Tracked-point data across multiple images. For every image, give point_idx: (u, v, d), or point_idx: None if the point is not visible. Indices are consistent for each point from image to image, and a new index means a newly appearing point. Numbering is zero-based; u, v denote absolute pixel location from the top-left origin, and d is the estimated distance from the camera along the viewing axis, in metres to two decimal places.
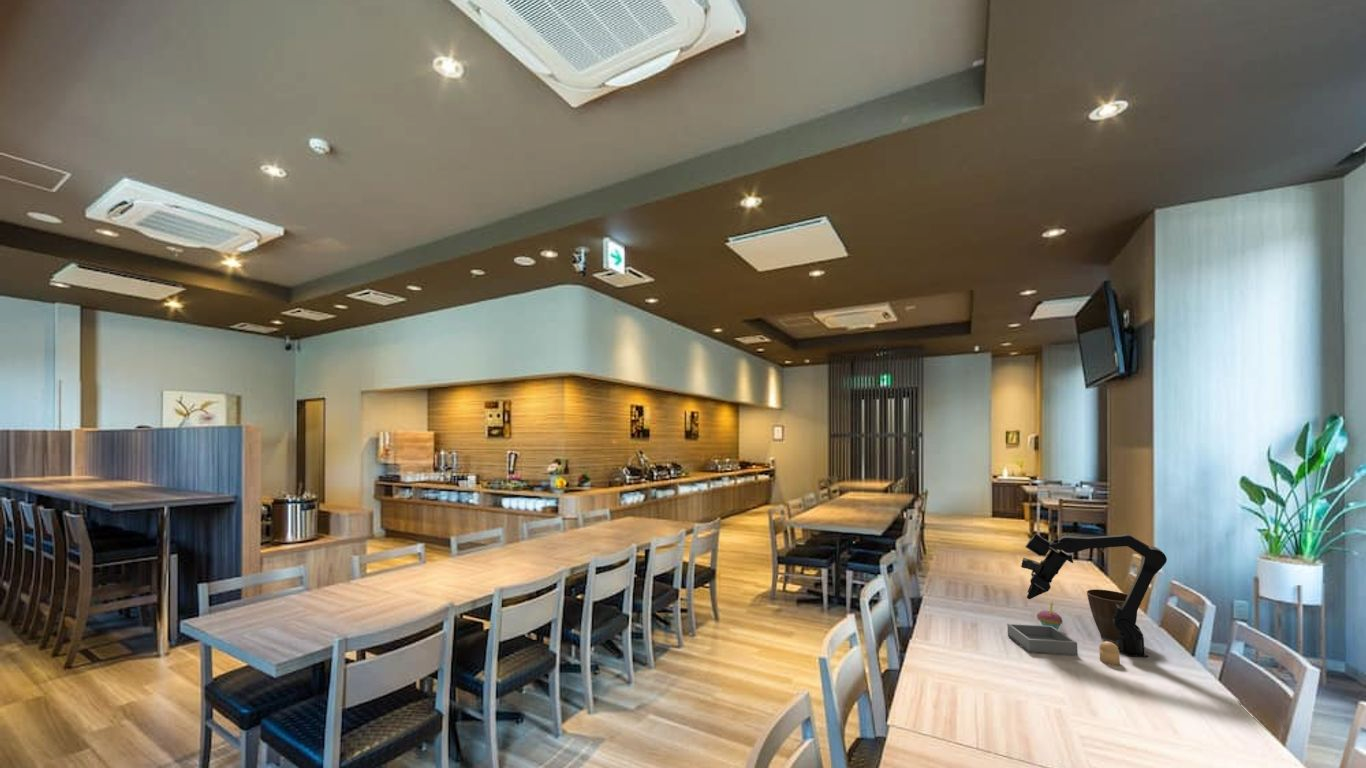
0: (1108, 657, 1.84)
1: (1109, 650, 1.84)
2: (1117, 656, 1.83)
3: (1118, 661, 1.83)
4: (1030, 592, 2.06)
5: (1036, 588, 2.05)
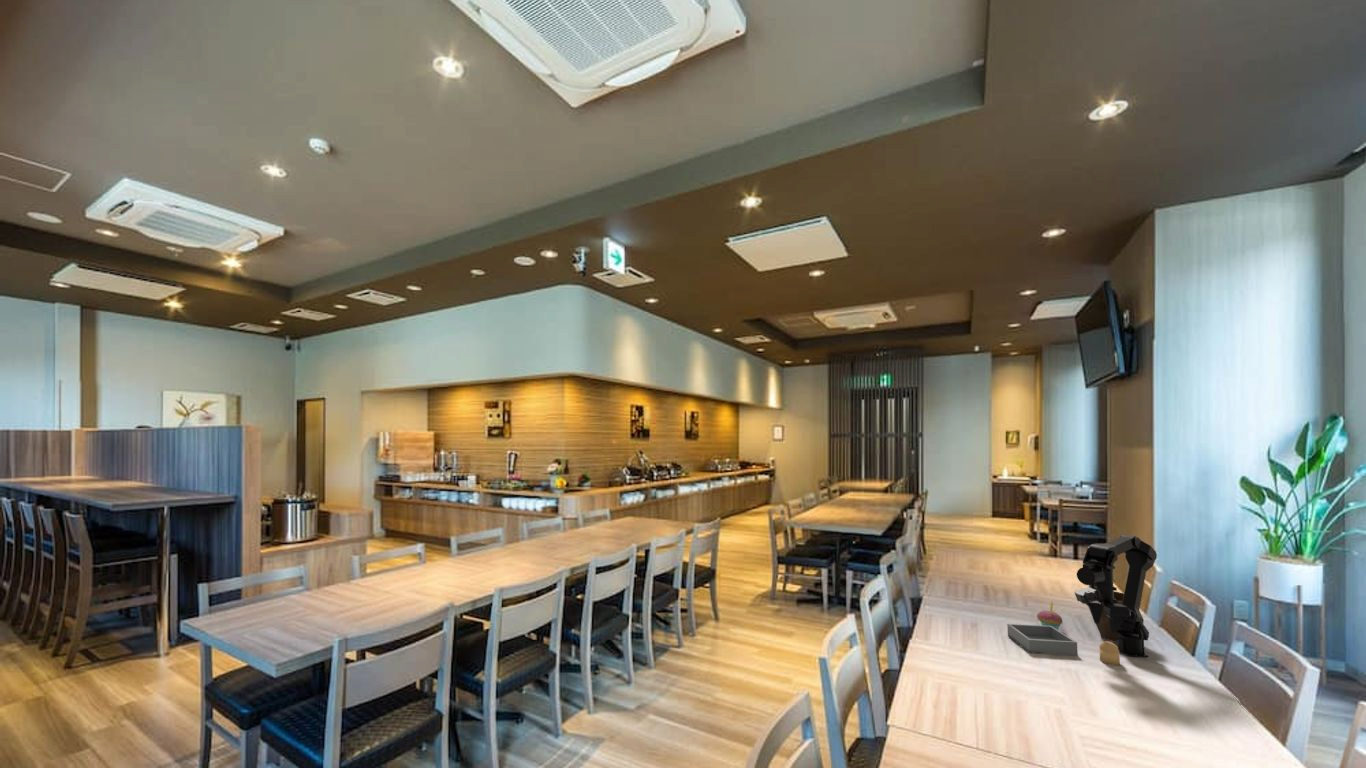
0: (1108, 657, 1.84)
1: (1109, 650, 1.84)
2: (1117, 656, 1.83)
3: (1118, 661, 1.83)
4: (1112, 625, 1.82)
5: (1115, 618, 1.82)
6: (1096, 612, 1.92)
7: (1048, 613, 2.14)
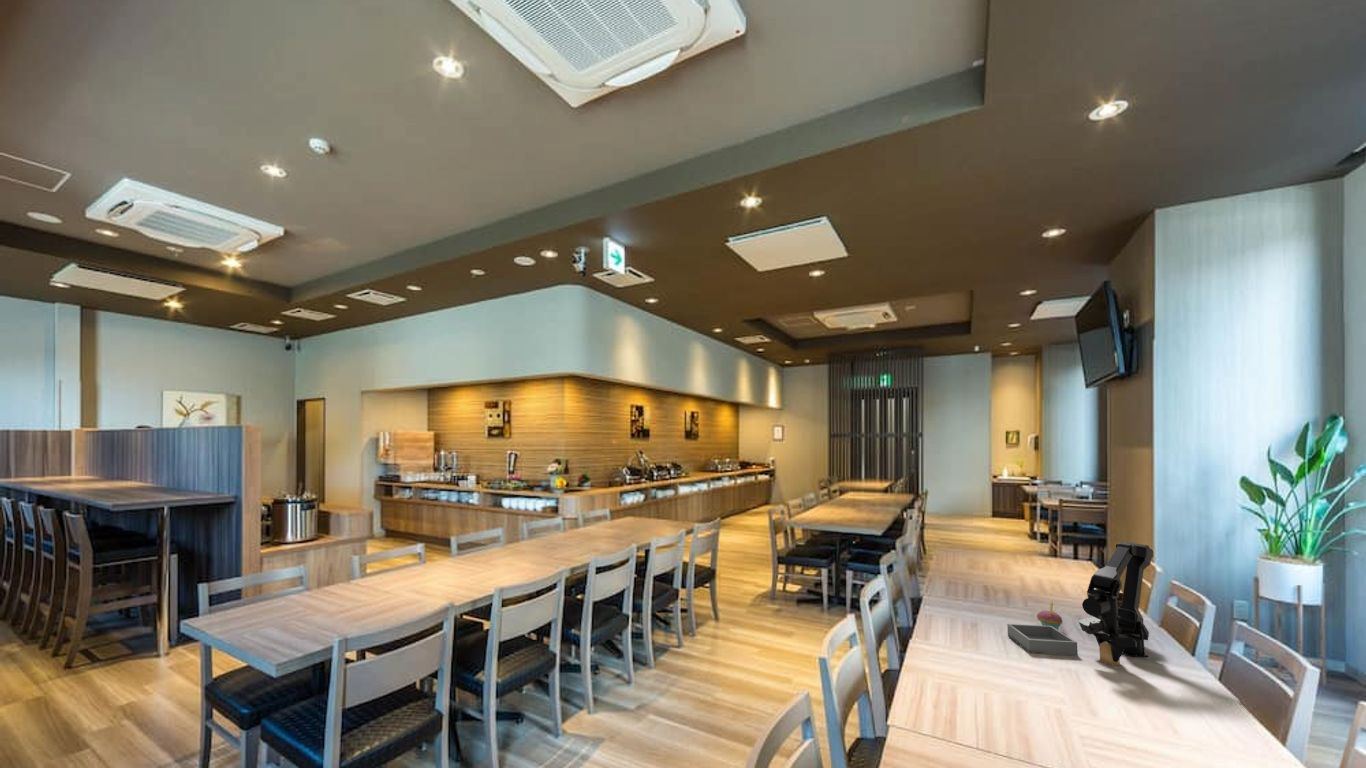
0: (1108, 657, 1.84)
1: (1109, 650, 1.84)
2: None
3: (1118, 661, 1.83)
4: (1115, 654, 1.82)
5: (1117, 646, 1.82)
6: None
7: (1048, 613, 2.14)
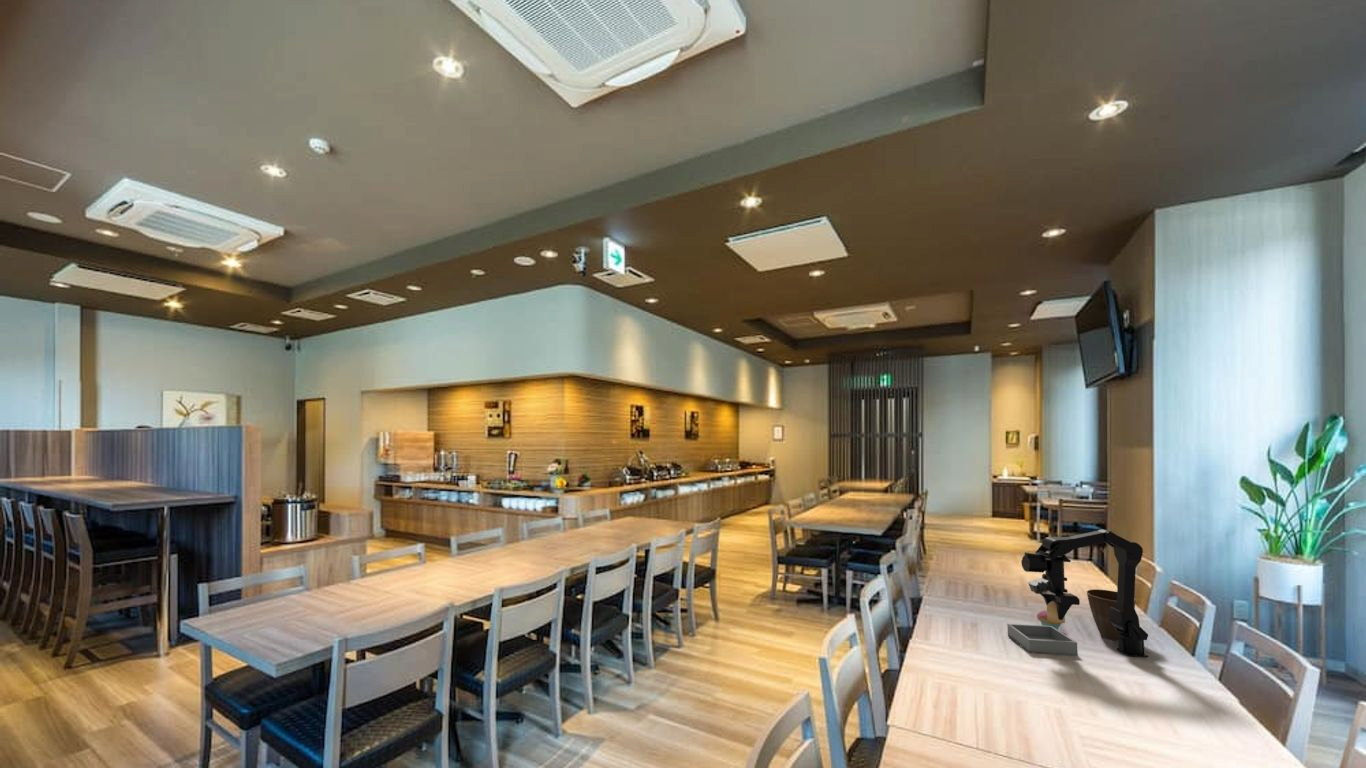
0: (1054, 615, 1.95)
1: (1055, 609, 1.95)
2: None
3: (1063, 619, 1.94)
4: (1060, 612, 1.93)
5: (1062, 605, 1.93)
6: None
7: None
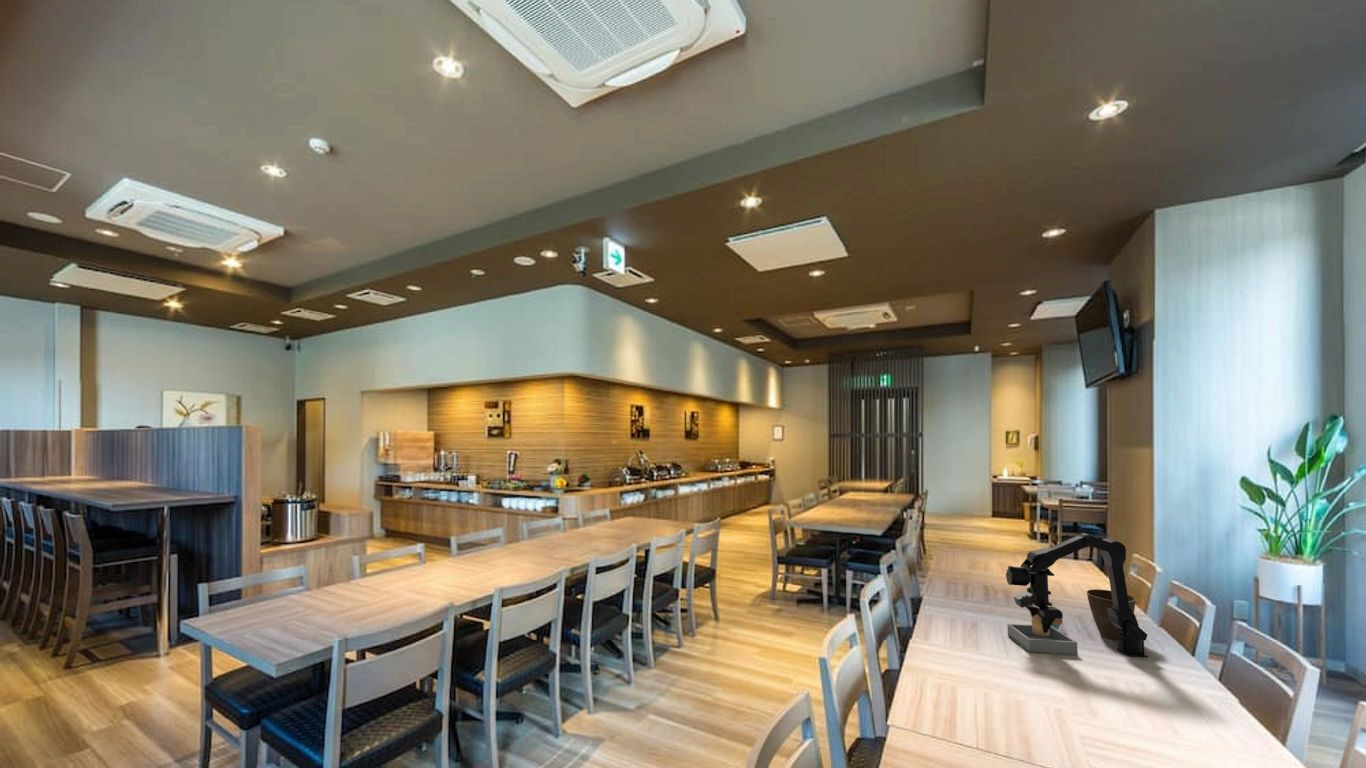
0: (1038, 628, 1.98)
1: (1039, 622, 1.98)
2: None
3: (1048, 632, 1.97)
4: (1044, 625, 1.96)
5: (1046, 618, 1.96)
6: None
7: None
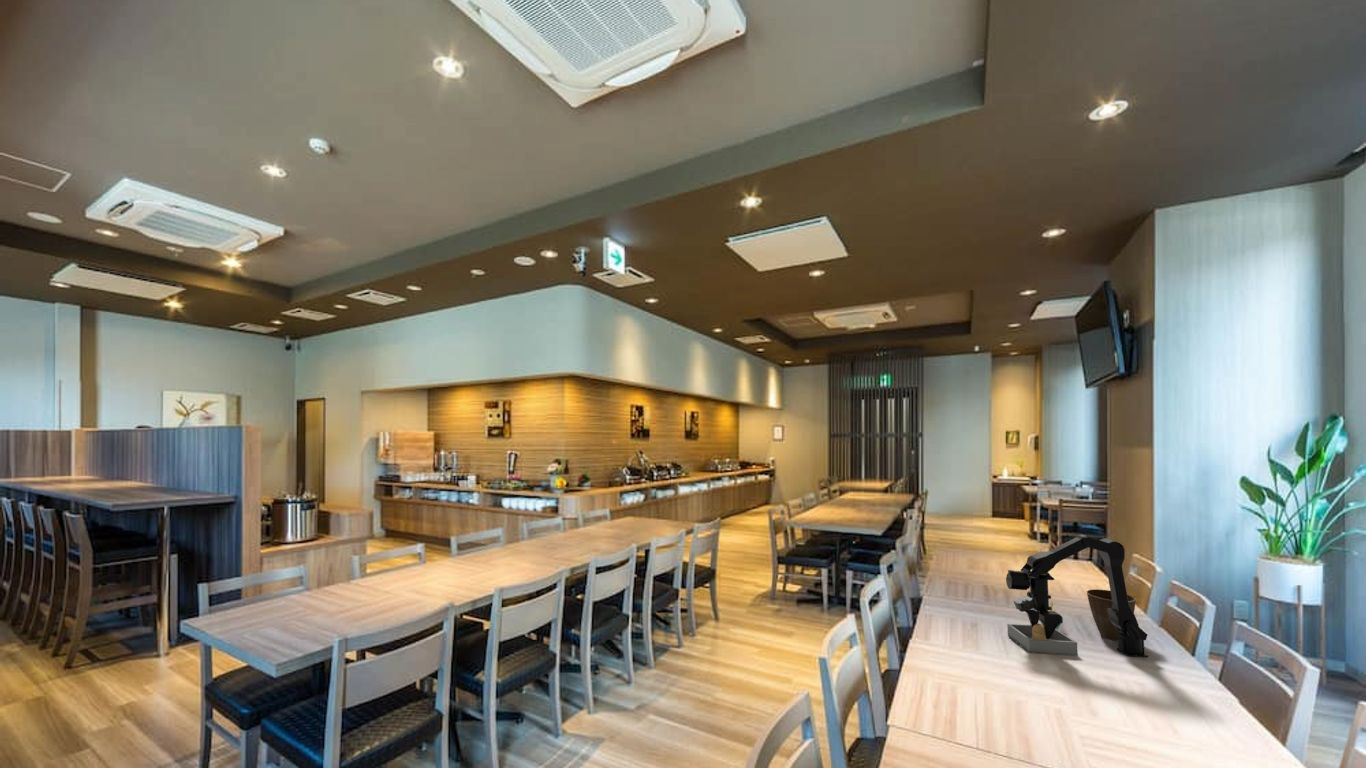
0: (1039, 638, 1.98)
1: (1040, 632, 1.98)
2: None
3: None
4: (1047, 632, 1.94)
5: (1049, 624, 1.94)
6: (1034, 619, 2.04)
7: None
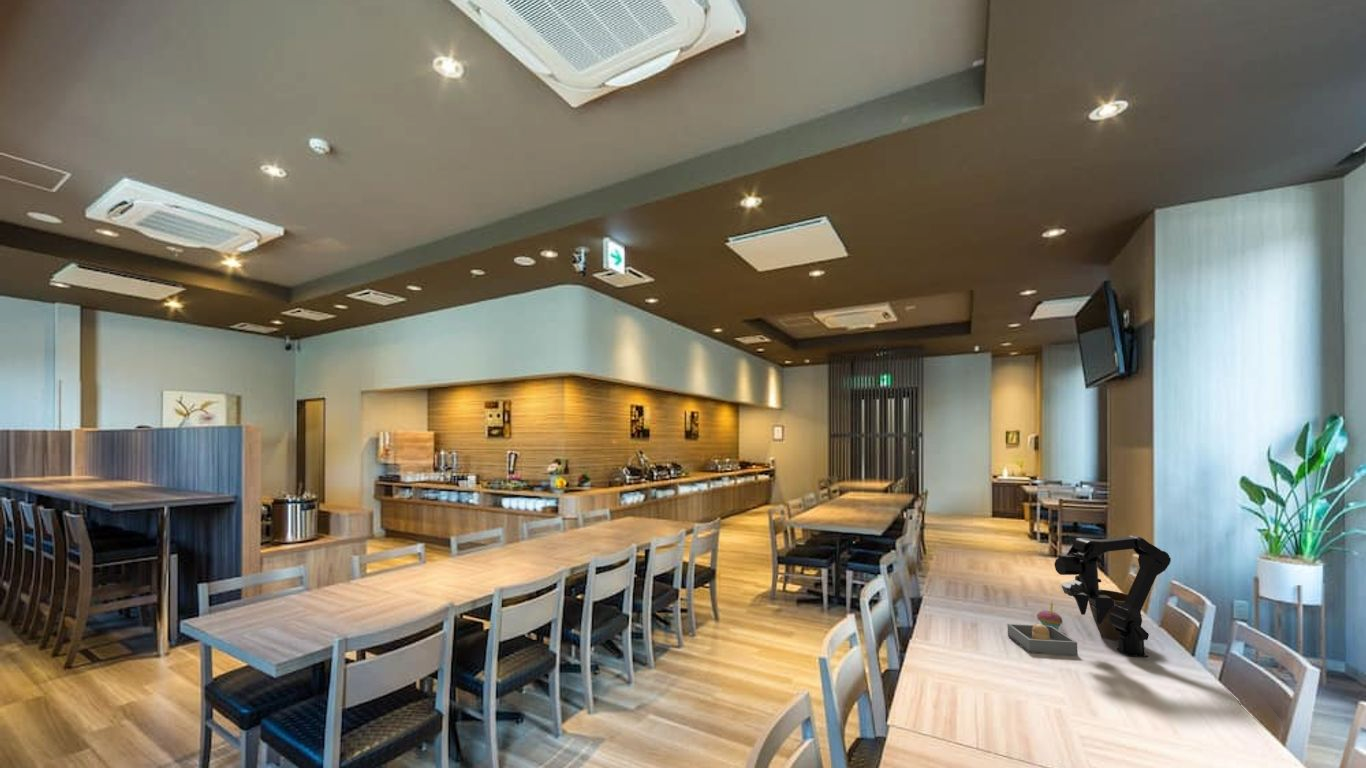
0: (1039, 638, 1.98)
1: (1040, 632, 1.98)
2: (1047, 637, 1.97)
3: None
4: (1098, 616, 1.89)
5: (1100, 609, 1.89)
6: (1082, 603, 1.99)
7: (1048, 613, 2.14)
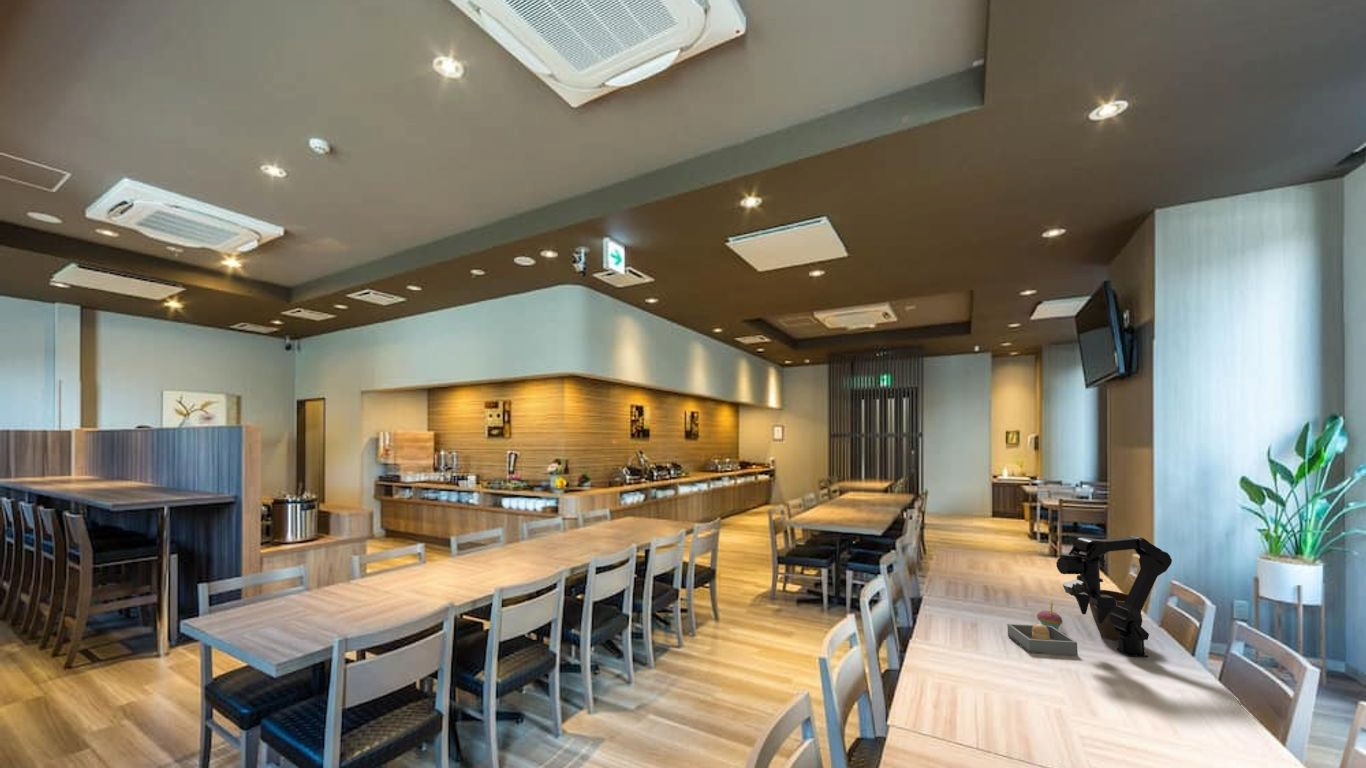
0: (1039, 638, 1.98)
1: (1040, 632, 1.98)
2: (1047, 637, 1.97)
3: None
4: (1099, 616, 1.88)
5: (1102, 608, 1.88)
6: (1083, 603, 1.99)
7: (1048, 613, 2.14)
